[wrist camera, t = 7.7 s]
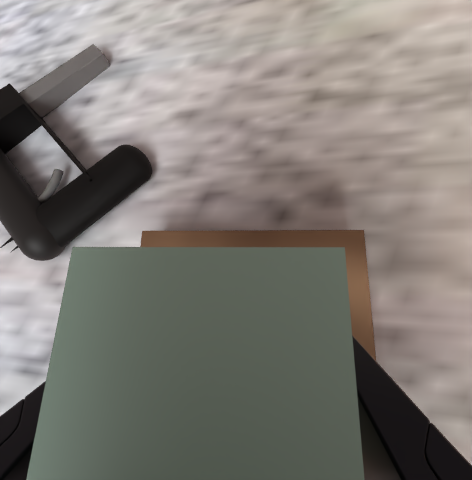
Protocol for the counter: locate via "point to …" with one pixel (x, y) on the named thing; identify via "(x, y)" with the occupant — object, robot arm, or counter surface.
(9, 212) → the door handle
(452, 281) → the counter surface
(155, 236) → the walnut base
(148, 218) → the counter surface
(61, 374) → the green post
